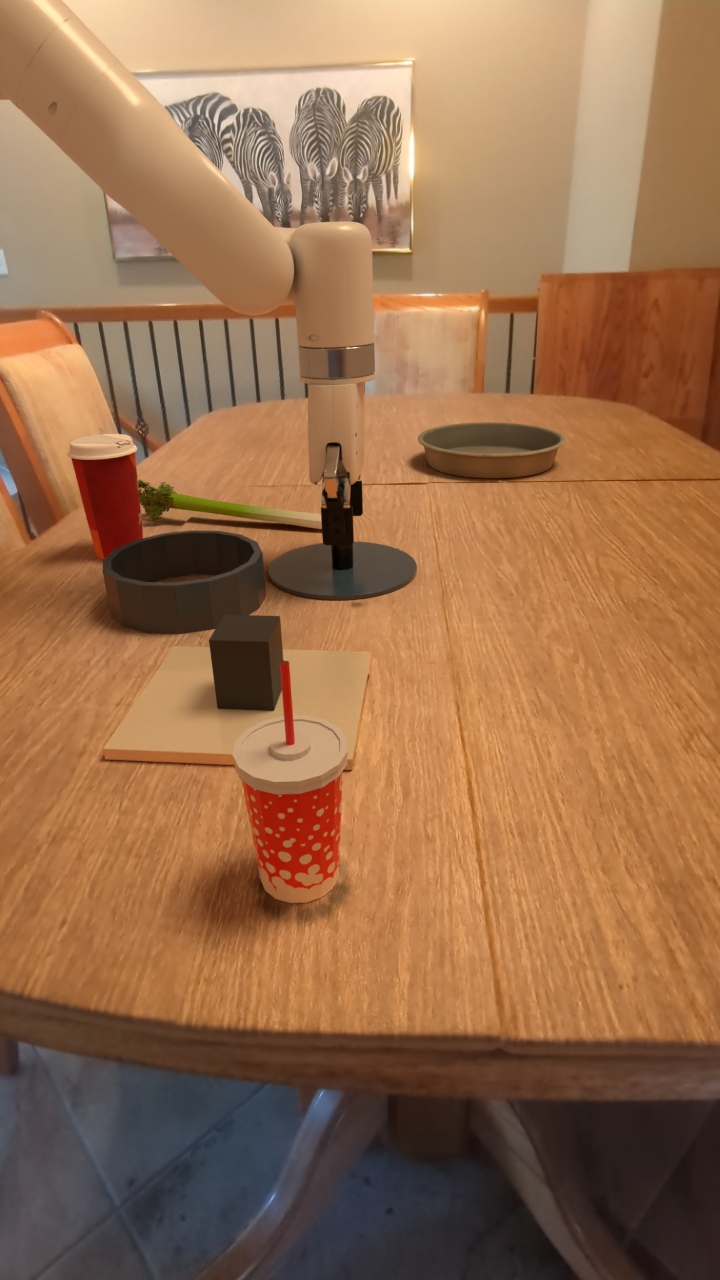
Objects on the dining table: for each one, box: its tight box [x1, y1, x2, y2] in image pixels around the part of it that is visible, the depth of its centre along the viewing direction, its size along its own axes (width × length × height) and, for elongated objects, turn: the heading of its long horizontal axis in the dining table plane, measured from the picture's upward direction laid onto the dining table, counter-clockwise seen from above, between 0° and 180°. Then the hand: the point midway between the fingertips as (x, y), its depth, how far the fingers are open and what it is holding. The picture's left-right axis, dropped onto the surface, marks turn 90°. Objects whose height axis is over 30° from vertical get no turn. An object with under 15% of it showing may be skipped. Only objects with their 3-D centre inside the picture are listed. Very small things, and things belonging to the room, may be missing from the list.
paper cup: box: [66, 433, 144, 560], centre depth 89 cm, size 8×8×14 cm
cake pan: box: [417, 421, 566, 479], centre depth 128 cm, size 25×25×4 cm
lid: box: [268, 540, 418, 601], centre depth 84 cm, size 17×17×6 cm
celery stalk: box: [138, 478, 322, 530], centre depth 101 cm, size 6×7×30 cm
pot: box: [102, 529, 267, 635], centre depth 77 cm, size 16×16×6 cm
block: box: [208, 614, 284, 711], centre depth 59 cm, size 4×4×6 cm
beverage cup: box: [232, 661, 348, 904], centre depth 41 cm, size 6×6×14 cm
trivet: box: [102, 645, 373, 771], centre depth 60 cm, size 18×16×1 cm
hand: (344, 529), depth 83 cm, fingers open, 9 cm apart
